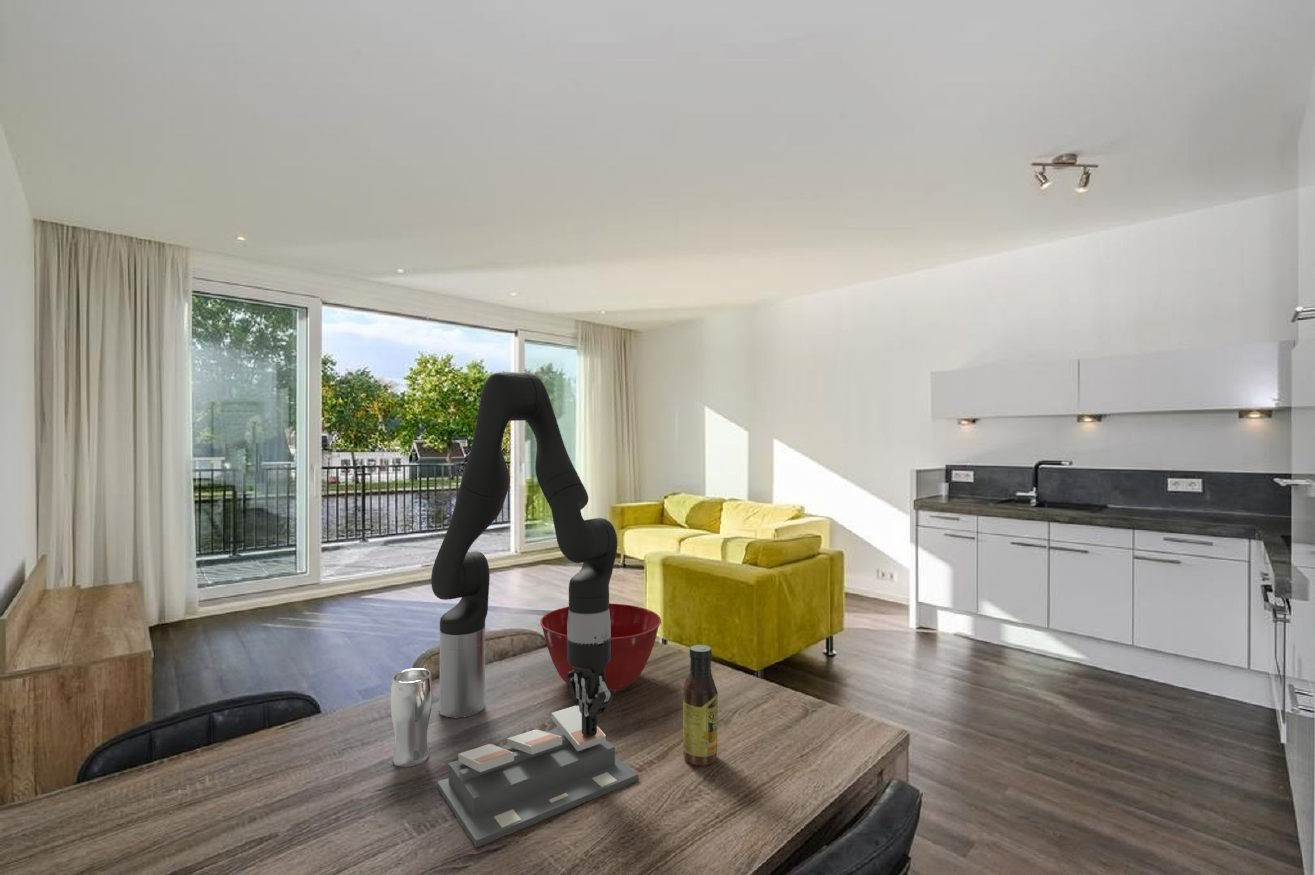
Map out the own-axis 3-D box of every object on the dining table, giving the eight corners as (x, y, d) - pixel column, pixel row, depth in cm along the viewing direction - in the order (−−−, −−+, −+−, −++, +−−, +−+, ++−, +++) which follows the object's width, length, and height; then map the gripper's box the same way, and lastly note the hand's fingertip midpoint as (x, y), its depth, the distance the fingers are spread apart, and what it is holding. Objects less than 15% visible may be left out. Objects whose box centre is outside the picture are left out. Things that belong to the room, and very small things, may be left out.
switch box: (437, 787, 98) (437, 756, 98) (584, 737, 115) (584, 710, 115) (476, 848, 84) (476, 811, 84) (638, 780, 101) (638, 749, 101)
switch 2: (507, 746, 103) (506, 737, 103) (536, 736, 106) (536, 728, 107) (531, 754, 95) (530, 746, 96) (562, 744, 99) (561, 736, 99)
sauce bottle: (715, 770, 104) (715, 656, 104) (680, 766, 105) (680, 653, 105) (719, 750, 110) (719, 643, 110) (685, 747, 112) (686, 641, 112)
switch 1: (458, 761, 98) (458, 753, 98) (490, 751, 101) (490, 743, 102) (480, 772, 90) (479, 763, 91) (514, 760, 94) (513, 751, 94)
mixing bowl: (611, 652, 161) (611, 595, 161) (685, 685, 140) (686, 619, 140) (517, 681, 142) (517, 616, 142) (587, 723, 121) (588, 647, 121)
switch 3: (551, 718, 109) (551, 712, 108) (577, 710, 112) (578, 704, 112) (577, 751, 101) (578, 744, 100) (605, 741, 104) (605, 735, 104)
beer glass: (440, 753, 109) (440, 671, 109) (409, 772, 103) (410, 685, 103) (412, 745, 112) (412, 665, 112) (381, 763, 105) (381, 678, 106)
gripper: (552, 629, 106) (552, 727, 106) (589, 649, 96) (590, 758, 95) (588, 621, 111) (588, 715, 110) (628, 640, 100) (628, 743, 100)
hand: (589, 735), depth 103 cm, fingers closed
